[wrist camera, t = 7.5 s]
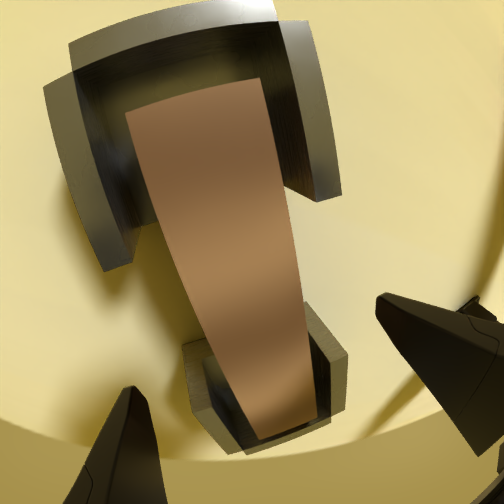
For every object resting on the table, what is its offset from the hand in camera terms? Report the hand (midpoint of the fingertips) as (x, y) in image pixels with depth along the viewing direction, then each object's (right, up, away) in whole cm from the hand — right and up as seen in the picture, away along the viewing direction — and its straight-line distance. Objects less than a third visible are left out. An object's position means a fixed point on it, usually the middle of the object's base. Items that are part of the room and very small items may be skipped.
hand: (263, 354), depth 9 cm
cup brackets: (-2, +3, +6) cm, 7 cm away
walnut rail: (-1, +2, +4) cm, 5 cm away
